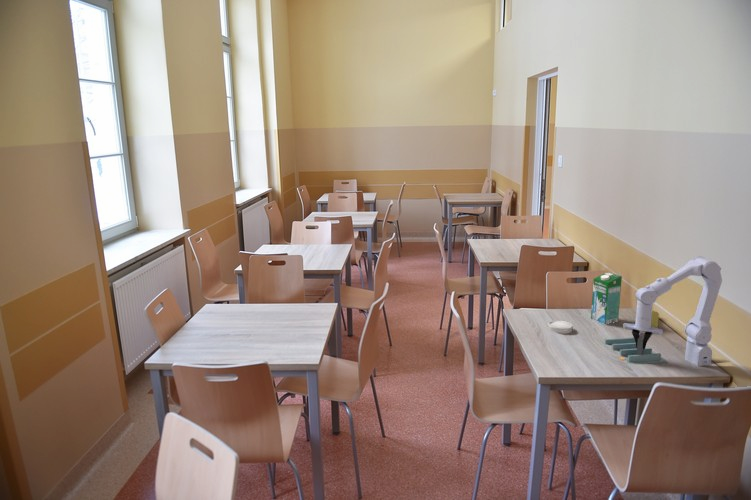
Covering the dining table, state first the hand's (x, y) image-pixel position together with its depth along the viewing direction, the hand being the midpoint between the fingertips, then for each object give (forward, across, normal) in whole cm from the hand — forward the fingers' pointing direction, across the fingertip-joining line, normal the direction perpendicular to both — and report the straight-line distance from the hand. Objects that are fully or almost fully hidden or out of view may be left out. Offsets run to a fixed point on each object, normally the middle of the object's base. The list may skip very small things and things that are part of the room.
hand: (640, 347), depth 220 cm
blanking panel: (+2, 0, 0) cm, 2 cm away
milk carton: (+5, +21, -39) cm, 44 cm away
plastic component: (+5, +5, -49) cm, 50 cm away
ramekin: (+6, +36, -12) cm, 38 cm away
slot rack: (+5, +4, -5) cm, 8 cm away
